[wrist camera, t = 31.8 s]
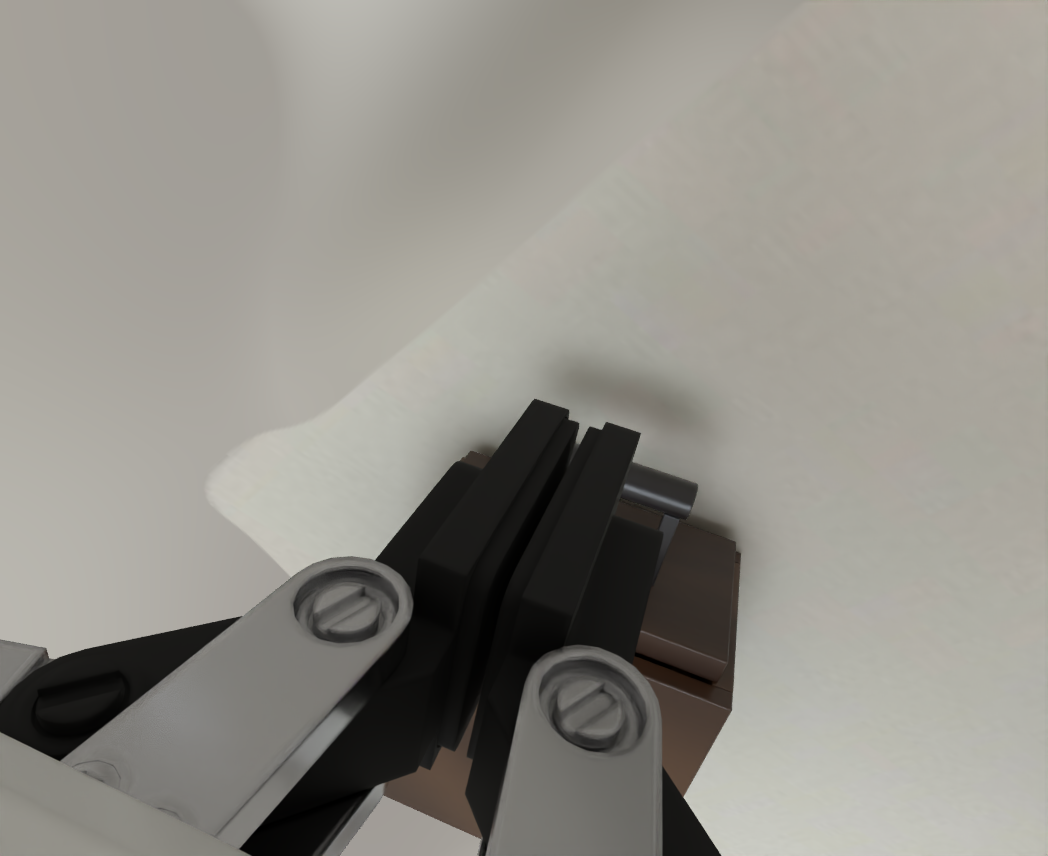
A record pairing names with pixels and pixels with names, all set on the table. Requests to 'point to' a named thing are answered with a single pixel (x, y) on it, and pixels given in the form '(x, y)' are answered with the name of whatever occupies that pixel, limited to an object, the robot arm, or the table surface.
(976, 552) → the table surface
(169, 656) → the robot arm
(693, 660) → the drawer
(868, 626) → the table surface
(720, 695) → the cabinet
